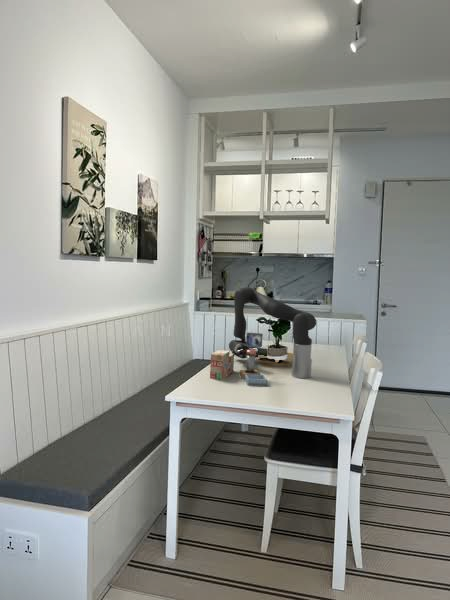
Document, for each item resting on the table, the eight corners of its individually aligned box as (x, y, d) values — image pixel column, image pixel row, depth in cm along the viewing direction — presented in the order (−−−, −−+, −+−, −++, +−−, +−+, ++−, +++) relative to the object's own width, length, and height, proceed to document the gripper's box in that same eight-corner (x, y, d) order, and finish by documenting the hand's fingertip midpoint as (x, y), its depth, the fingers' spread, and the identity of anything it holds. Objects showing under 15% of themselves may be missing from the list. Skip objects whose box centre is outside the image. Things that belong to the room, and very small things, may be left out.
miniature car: (280, 363, 280) (281, 350, 279) (253, 359, 289) (253, 346, 288) (286, 361, 288) (287, 348, 287) (259, 357, 296) (260, 344, 296)
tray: (263, 380, 235) (263, 374, 235) (266, 385, 226) (267, 379, 226) (244, 380, 234) (245, 374, 234) (247, 385, 225) (248, 379, 225)
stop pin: (253, 376, 243) (255, 349, 242) (255, 378, 238) (256, 351, 237) (244, 376, 242) (246, 349, 241) (246, 378, 238) (247, 351, 237)
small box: (245, 348, 322) (246, 333, 321) (246, 347, 329) (247, 332, 328) (261, 350, 320) (262, 334, 320) (261, 348, 327) (262, 333, 326)
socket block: (256, 375, 245) (257, 370, 245) (260, 380, 236) (260, 374, 236) (239, 375, 244) (240, 369, 244) (242, 379, 235) (242, 373, 235)
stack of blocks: (222, 369, 256) (223, 346, 255) (233, 370, 254) (234, 348, 253) (209, 378, 235) (210, 353, 234) (221, 379, 234) (223, 354, 233)
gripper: (230, 343, 265) (234, 347, 249) (255, 344, 267) (260, 349, 251) (229, 356, 266) (233, 362, 250) (254, 357, 267) (259, 363, 251)
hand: (247, 355), depth 250 cm, fingers open, 8 cm apart
